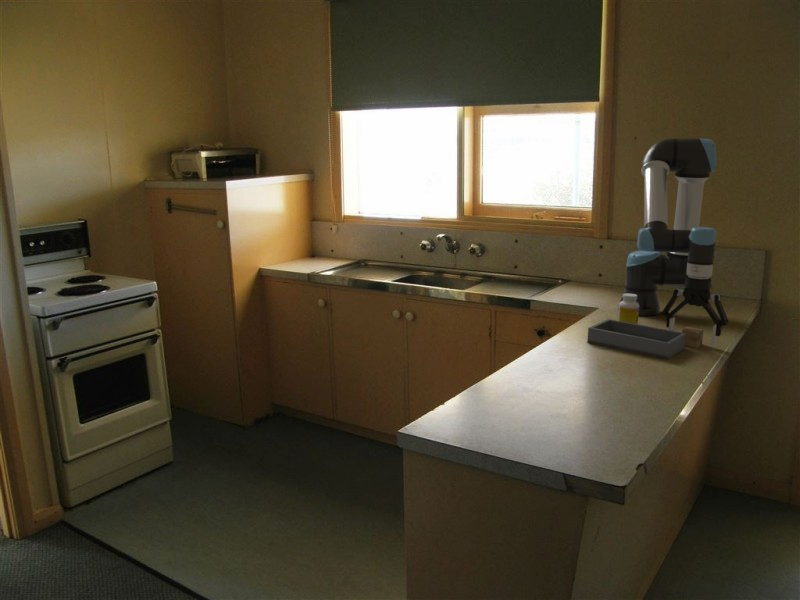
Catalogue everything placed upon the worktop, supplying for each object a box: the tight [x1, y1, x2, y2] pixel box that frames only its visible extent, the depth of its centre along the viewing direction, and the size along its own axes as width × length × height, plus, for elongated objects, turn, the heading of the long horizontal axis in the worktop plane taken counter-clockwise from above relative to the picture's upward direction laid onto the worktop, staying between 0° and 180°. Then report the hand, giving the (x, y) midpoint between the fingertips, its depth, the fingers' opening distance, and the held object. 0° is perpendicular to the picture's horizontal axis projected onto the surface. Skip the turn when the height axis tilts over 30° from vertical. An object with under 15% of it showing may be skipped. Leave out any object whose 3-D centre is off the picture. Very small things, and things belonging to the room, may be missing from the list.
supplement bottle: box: [617, 293, 639, 324], centre depth 239 cm, size 7×7×13 cm
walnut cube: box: [681, 326, 704, 349], centre depth 225 cm, size 5×5×5 cm
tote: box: [586, 318, 686, 360], centre depth 223 cm, size 15×26×5 cm, turn 49°
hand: (691, 341), depth 225 cm, fingers open, 13 cm apart
